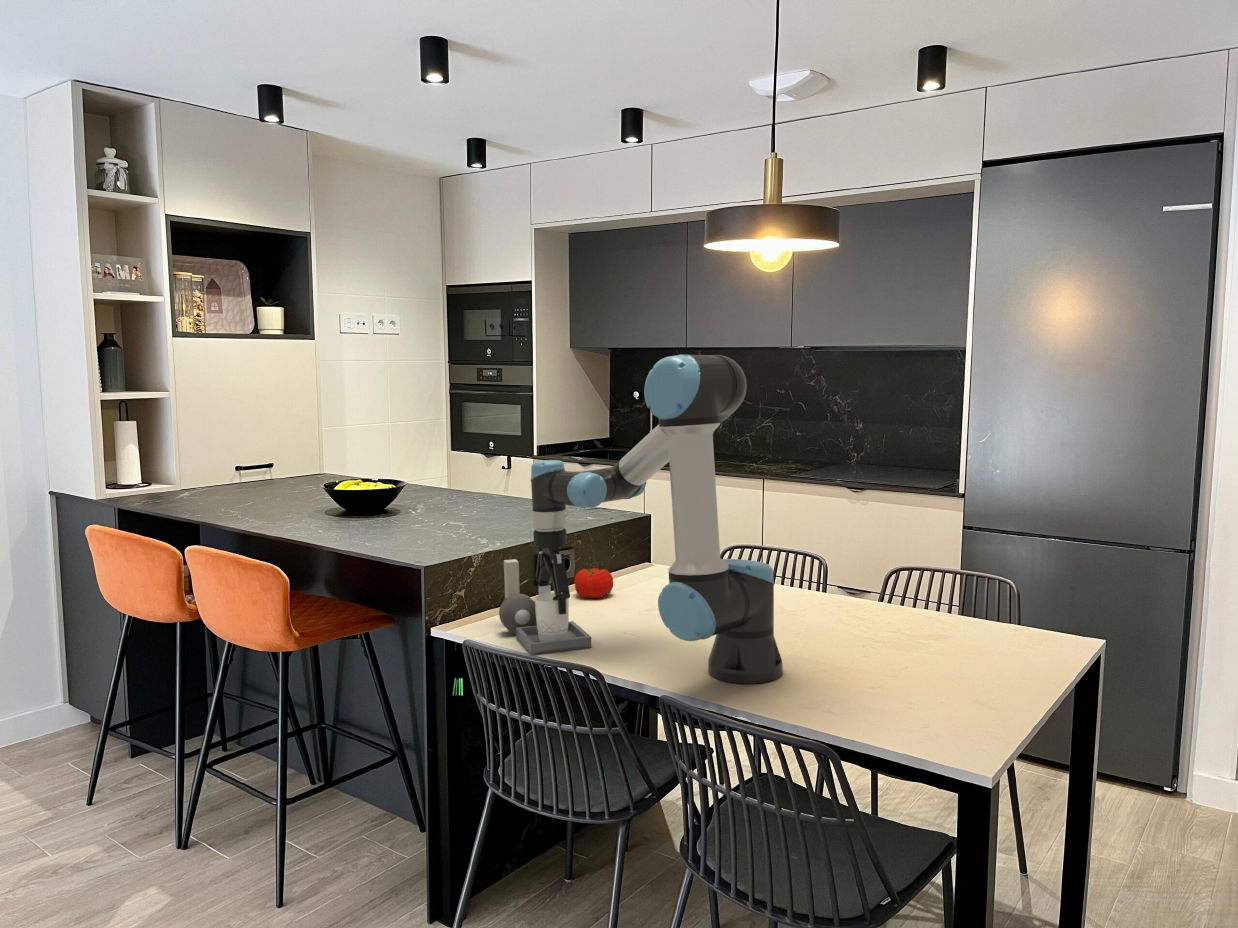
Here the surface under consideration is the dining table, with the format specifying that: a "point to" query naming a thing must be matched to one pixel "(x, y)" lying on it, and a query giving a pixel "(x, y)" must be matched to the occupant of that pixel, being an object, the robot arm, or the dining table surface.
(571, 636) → the tray
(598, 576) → the tomato
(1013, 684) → the dining table surface
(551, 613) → the white cup
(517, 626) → the trolley wheel
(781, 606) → the dining table surface
